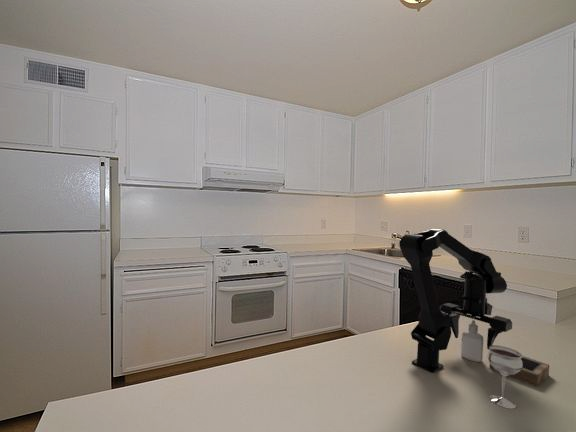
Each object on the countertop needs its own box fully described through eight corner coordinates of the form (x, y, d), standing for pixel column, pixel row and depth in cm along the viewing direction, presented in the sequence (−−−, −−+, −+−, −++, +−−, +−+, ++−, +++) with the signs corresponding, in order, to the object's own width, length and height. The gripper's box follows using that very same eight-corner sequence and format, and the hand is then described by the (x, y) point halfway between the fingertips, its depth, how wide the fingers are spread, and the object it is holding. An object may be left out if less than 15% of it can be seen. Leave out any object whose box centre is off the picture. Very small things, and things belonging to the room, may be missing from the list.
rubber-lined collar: (537, 386, 78) (537, 375, 78) (489, 367, 87) (490, 357, 87) (548, 375, 84) (549, 364, 84) (503, 359, 93) (504, 349, 93)
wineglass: (481, 399, 70) (484, 349, 70) (490, 389, 75) (492, 342, 75) (516, 414, 65) (519, 361, 65) (523, 403, 70) (526, 353, 70)
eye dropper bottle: (474, 364, 89) (477, 324, 89) (458, 355, 94) (460, 318, 94) (485, 362, 90) (487, 323, 90) (468, 354, 95) (470, 317, 95)
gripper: (520, 298, 89) (517, 349, 89) (455, 284, 104) (453, 328, 104) (506, 303, 83) (503, 358, 83) (440, 287, 98) (437, 334, 98)
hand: (472, 343), depth 92 cm, fingers open, 9 cm apart
